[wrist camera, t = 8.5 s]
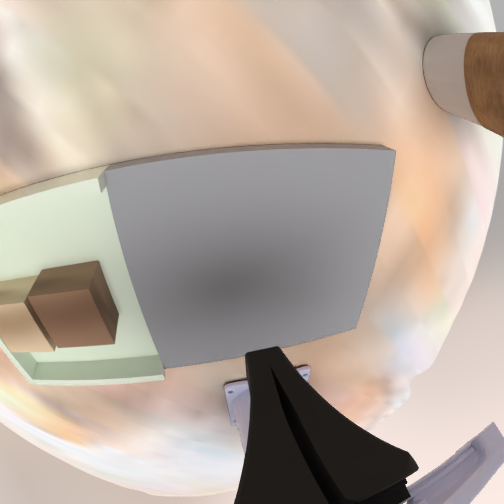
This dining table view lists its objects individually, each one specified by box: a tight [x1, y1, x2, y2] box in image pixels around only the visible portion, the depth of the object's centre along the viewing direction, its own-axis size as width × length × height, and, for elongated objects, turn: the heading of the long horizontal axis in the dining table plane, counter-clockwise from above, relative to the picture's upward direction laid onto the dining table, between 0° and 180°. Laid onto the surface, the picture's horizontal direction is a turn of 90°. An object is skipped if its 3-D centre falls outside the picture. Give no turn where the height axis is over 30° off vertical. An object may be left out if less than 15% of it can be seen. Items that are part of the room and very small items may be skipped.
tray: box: [0, 165, 165, 385], centre depth 13 cm, size 14×12×2 cm
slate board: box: [103, 144, 396, 369], centre depth 16 cm, size 14×15×1 cm
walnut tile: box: [27, 260, 119, 348], centre depth 13 cm, size 4×4×2 cm
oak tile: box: [0, 275, 56, 352], centre depth 13 cm, size 4×4×2 cm
